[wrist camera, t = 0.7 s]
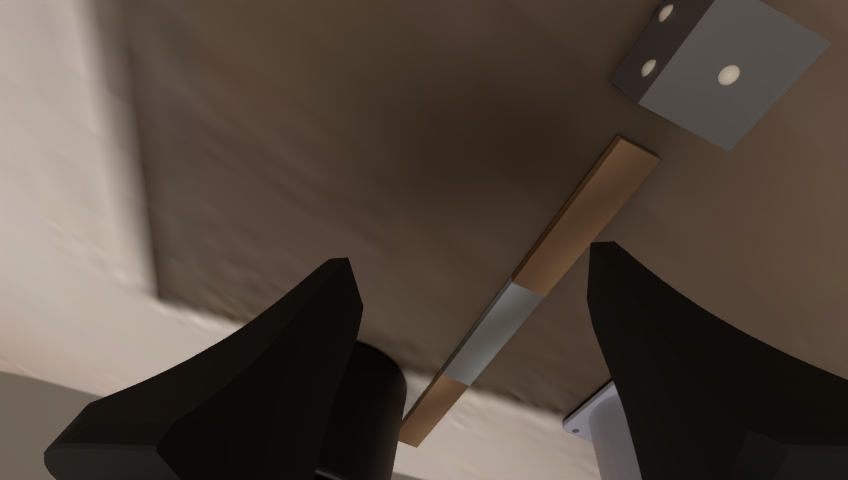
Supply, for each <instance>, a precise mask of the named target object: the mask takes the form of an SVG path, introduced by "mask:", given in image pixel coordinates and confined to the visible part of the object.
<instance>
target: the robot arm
mask: <svg viewBox="0 0 848 480" xmlns="http://www.w3.org/2000/svg"><path fill="white" fill-rule="evenodd" d="M587 302H588V307H589V311H590V316H591V320H592V324H593V328H594V331H595V334H596V337H597V340H598V342H599V345H600V348H601V350H602V353H603V356H604V358H605V361H606V364H607V366H608V369H609V371H610V374H611V377H612V379H613V381H611V382H610V383H609V384H608V385H607V386H605V387H604V388H603V389H602V390H601V391H599V392H598V393H597V394H596V395H595V396H594V397H592V398H591V399H590V400H589V401H588V402H586V403H585V404H584V405H583V406H582V407H581V408H579V409H578V410H577V411H576V412H575V413H573V414H572V415H571V416H570V417H569V418H568V419H566V420H565V421H564V422H563V423H562V426H563V429H564V430H565V431H566V432H569V433H571V434H574V435H576V436H579V437H581V438H584V439H586V440H589V441H591V442H593V445H594V450H595V454H596V458H597V462H598V467H599V471H600V475H601V479H602V480H848V380H846V379H844V378H842V377H839V376H837V375H834V374H832V373H830V372H827V371H825V370H822V369H820V368H818V367H815V366H813V365H811V364H808V363H806V362H804V361H802V360H799V359H797V358H795V357H793V356H790V355H788V354H786V353H784V352H782V351H780V350H778V349H776V348H774V347H772V346H770V345H768V344H766V343H764V342H762V341H760V340H758V339H756V338H754V337H752V336H750V335H748V334H746V333H744V332H742V331H741V330H739V329H737V328H735V327H734V326H732V325H730V324H728V323H727V322H725V321H723V320H721V319H720V318H718V317H716V316H714V315H713V314H711V313H709V312H708V311H706V310H705V309H703V308H701V307H700V306H698V305H697V304H695V303H694V302H692V301H691V300H690V299H688V298H687V297H685V296H684V295H682V294H681V293H679V292H678V291H676V290H675V289H674V288H672V287H671V286H669V285H668V284H667V283H665V282H664V281H663V280H661V279H660V278H659V277H657V276H656V275H655V274H654V273H652V272H651V271H650V270H648V269H647V268H646V267H645V266H643V265H642V264H641V263H640V262H639V261H637V260H636V259H635V258H634V257H633V256H631V255H630V254H629V253H628V252H627V251H625V250H624V249H623V248H622V247H620V246H619V245H618V244H617V243H616V242H614V241H612V242H595V243H591V247H590V261H589V275H588V289H587ZM362 312H363V304H362V301H361V297H360V294H359V291H358V288H357V284H356V281H355V278H354V275H353V271H352V268H351V265H350V262H349V259H348V258H332V259H329V260H327V261H326V262H325V263H323V264H322V265H321V266H320V267H318V268H317V269H316V270H315V271H314V272H312V273H311V274H310V275H309V276H308V277H306V278H305V279H304V280H303V281H302V282H300V283H299V284H298V285H297V286H296V287H294V288H293V289H292V290H291V291H290V292H288V293H287V294H286V295H285V296H284V297H282V298H281V299H280V300H278V301H277V302H276V303H275V304H273V305H272V306H271V307H269V308H268V309H267V310H265V311H264V312H263V313H262V314H260V315H259V316H258V317H256V318H255V319H254V320H252V321H251V322H249V323H248V324H246V325H245V326H243V327H242V328H240V329H239V330H237V331H236V332H234V333H233V334H231V335H230V336H228V337H227V338H225V339H223V340H222V341H220V342H218V343H217V344H215V345H213V346H211V347H209V348H208V349H206V350H204V351H202V352H201V353H199V354H197V355H195V356H194V357H192V358H190V359H188V360H186V361H184V362H182V363H180V364H178V365H176V366H174V367H172V368H170V369H168V370H166V371H164V372H162V373H160V374H158V375H156V376H154V377H151V378H149V379H147V380H145V381H143V382H140V383H138V384H136V385H133V386H131V387H128V388H126V389H124V390H121V391H119V392H116V393H114V394H111V395H109V396H106V397H104V398H102V399H99V400H96V401H94V402H91V403H89V404H88V405H87V406H86V407H85V408H84V409H83V410H82V411H81V412H80V414H79V415H78V416H77V417H76V418H75V419H74V420H73V421H72V422H71V423H70V424H69V425H68V427H67V428H66V429H65V430H64V431H63V432H62V433H61V434H60V435H59V436H58V437H57V438H56V439H55V440H54V442H53V443H52V444H51V445H50V446H49V447H48V448H47V450H46V451H45V452H44V463H45V466H46V467H47V469H48V471H49V472H50V474H51V475H52V476H53V477H54V478H55V479H56V480H314V478H315V473H316V469H317V464H318V460H319V456H320V451H321V447H322V442H323V438H324V434H325V430H326V426H327V423H328V419H329V415H330V411H331V408H332V405H333V402H334V398H335V396H336V393H337V390H338V387H339V385H340V382H341V379H342V377H343V374H344V371H345V369H346V366H347V363H348V360H349V358H350V355H351V352H352V349H353V347H354V344H355V341H356V338H357V335H358V331H359V327H360V322H361V317H362Z"/></svg>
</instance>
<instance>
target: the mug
mask: <svg viewBox="0 0 848 480" xmlns="http://www.w3.org/2000/svg"><path fill="white" fill-rule="evenodd" d="M406 394H407V392H406V385H405V382H404V379H403V376H402V374H401V372H400V371H399V369H398V368H397V367H396V366H395V365H394V364H393V363H392V362H391V361H390V360H389V359H388V358H387V357H385V356H384V355H383V354H381V353H380V352H378V351H376V350H374V349H372V348H370V347H368V346H365V345H363V344H360V343H356V342H355V344H354V347H353V349H352V352H351V355H350V358H349V360H348V363H347V366H346V369H345V371H344V374H343V377H342V379H341V382H340V385H339V387H338V390H337V393H336V396H335V398H334V402H333V405H332V408H331V411H330V415H329V419H328V423H327V426H326V430H325V434H324V438H323V442H322V447H321V451H320V456H319V460H318V464H317V469H316V473H315V478H314V480H391V476H392V471H393V465H394V460H395V454H396V449H397V444H398V438H399V433H400V427H401V422H402V417H403V411H404V406H405V400H406Z"/></svg>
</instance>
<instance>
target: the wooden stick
mask: <svg viewBox="0 0 848 480" xmlns="http://www.w3.org/2000/svg"><path fill="white" fill-rule="evenodd" d="M661 160H662V159H661V158H660V157H659V156H658V155H656V154H654V153H652V152H650V151H648V150H647V149H645V148H643V147H641V146H639V145H637V144H635V143H633V142H631V141H629V140H627V139H625V138H623V137H621V136H619V135H617V136H616V138H615V139H614V140H613V142H612V143H611V144H610V146H609V147H608V148H607V150H606V151H605V152H604V154H603V155H602V156H601V158H600V159H599V160H598V162H597V163H596V164H595V165H594V167H593V168H592V169H591V171H590V172H589V173H588V175H587V176H586V177H585V179H584V180H583V181H582V183H581V184H580V185H579V187H578V188H577V189H576V191H575V192H574V193H573V195H572V196H571V197H570V199H569V200H568V201H567V203H566V204H565V205H564V207H563V208H562V209H561V211H560V212H559V213H558V215H557V216H556V217H555V219H554V220H553V221H552V223H551V224H550V225H549V227H548V228H547V229H546V231H545V232H544V233H543V235H542V236H541V237H540V239H539V240H538V241H537V243H536V244H535V245H534V247H533V248H532V249H531V251H530V252H529V253H528V255H527V256H526V257H525V259H524V260H523V261H522V263H521V264H520V265H519V267H518V268H517V269H516V271H515V272H514V273H513V275H512V276H511V277H510V279H509V280H508V281H507V283H506V284H505V285H504V287H503V288H502V289H501V291H500V292H499V293H498V294H497V296H496V297H495V298H494V300H493V301H492V302H491V304H490V305H489V306H488V308H487V309H486V310H485V312H484V313H483V314H482V316H481V317H480V318H479V320H478V321H477V322H476V324H475V325H474V326H473V328H472V329H471V330H470V332H469V333H468V334H467V336H466V337H465V338H464V340H463V341H462V342H461V344H460V345H459V346H458V348H457V349H456V350H455V352H454V353H453V354H452V356H451V357H450V358H449V360H448V361H447V362H446V364H445V365H444V366H443V368H442V369H441V370H440V372H439V373H438V374H437V376H436V377H435V378H434V380H433V381H432V382H431V384H430V385H429V386H428V388H427V389H426V390H425V392H424V393H423V394H422V396H421V397H420V398H419V400H418V401H417V402H416V404H415V405H414V406H413V408H412V409H411V410H410V412H409V413H408V414H407V416H406V417H405V418H404V419H403V421H402V422H401V427H400V433H399V438H398V441H400V442H403V443H405V444H408V445H411V446H414V447H416V448H417V447H418V446H419V445H420V443H421V442H422V441H423V440H424V439H425V437H426V436H427V435H428V434H429V433H430V432H431V430H432V429H433V428H434V427H435V426H436V425H437V423H438V422H439V421H440V420H441V419H442V417H443V416H444V415H445V414H446V413H447V412H448V410H449V409H450V408H451V407H452V406H453V405H454V403H455V402H456V401H457V400H458V399H459V398H460V396H461V395H462V394H463V393H464V392H465V390H466V389H467V388H468V387H469V386H470V385H471V383H472V382H473V381H474V380H475V379H476V378H477V376H478V375H479V374H480V373H481V372H482V370H483V369H484V368H485V367H486V366H487V365H488V363H489V362H490V361H491V360H492V359H493V358H494V356H495V355H496V354H497V353H498V352H499V351H500V349H501V348H502V347H503V346H504V345H505V343H506V342H507V341H508V340H509V339H510V338H511V336H512V335H513V334H514V333H515V332H516V331H517V329H518V328H519V327H520V326H521V325H522V323H523V322H524V321H525V320H526V319H527V318H528V316H529V315H530V314H531V313H532V312H533V311H534V309H535V308H536V307H537V306H538V305H539V303H540V302H541V301H542V300H543V299H544V298H545V296H546V295H547V294H548V293H549V292H550V291H551V289H552V288H553V287H554V286H555V285H556V284H557V282H558V281H559V280H560V279H561V278H562V276H563V275H564V274H565V273H566V272H567V271H568V269H569V268H570V267H571V266H572V265H573V264H574V262H575V261H576V260H577V259H578V258H579V256H580V255H581V254H582V253H583V252H584V251H585V249H586V248H587V247H588V246H589V245H590V244H591V242H592V241H593V240H594V239H595V238H596V237H597V235H598V234H599V233H600V232H601V231H602V229H603V228H604V227H605V226H606V225H607V224H608V222H609V221H610V220H611V219H612V218H613V217H614V215H615V214H616V213H617V212H618V211H619V209H620V208H621V207H622V206H623V205H624V204H625V202H626V201H627V200H628V199H629V198H630V197H631V195H632V194H633V193H634V192H635V191H636V190H637V188H638V187H639V186H640V185H641V184H642V182H643V181H644V180H645V179H646V178H647V177H648V175H649V174H650V173H651V172H652V171H653V170H654V168H655V167H656V166H657V165H658V164H659V162H660V161H661Z"/></svg>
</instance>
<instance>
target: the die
mask: <svg viewBox="0 0 848 480" xmlns="http://www.w3.org/2000/svg"><path fill="white" fill-rule="evenodd" d="M831 44H832V43H831V42H829V41H827V40H826V39H824V38H822V37H821V36H819V35H817V34H816V33H814V32H812V31H811V30H809V29H807V28H806V27H804V26H802V25H801V24H799V23H797V22H796V21H794V20H792V19H791V18H789V17H787V16H786V15H784V14H782V13H780V12H779V11H777V10H775V9H774V8H772V7H770V6H769V5H767V4H765V3H764V2H762V1H760V0H664V1H663V3H662V4H661V6H660V7H659V9H658V10H657V12H656V13H655V15H654V16H653V17H652V19H651V20H650V22H649V23H648V25H647V26H646V28H645V29H644V31H643V32H642V34H641V35H640V37H639V38H638V39H637V41H636V42H635V44H634V45H633V47H632V48H631V50H630V51H629V53H628V54H627V56H626V57H625V58H624V60H623V61H622V63H621V64H620V66H619V67H618V69H617V70H616V72H615V73H614V75H613V76H612V78H611V79H610V80H609V81H610V82H611V83H612V84H614V85H615V86H616V87H617V88H619V89H620V90H621V91H622V92H624V93H625V94H626V95H627V96H629V97H630V98H631V99H632V100H634V101H635V102H636V103H637V104H639V105H641V106H643V107H645V108H647V109H649V110H650V111H652V112H654V113H656V114H658V115H660V116H662V117H664V118H665V119H667V120H669V121H671V122H673V123H675V124H677V125H679V126H681V127H682V128H684V129H686V130H688V131H690V132H692V133H694V134H696V135H698V136H699V137H701V138H703V139H705V140H707V141H709V142H711V143H713V144H714V145H716V146H718V147H720V148H722V149H724V150H726V151H728V152H730V151H731V150H732V149H733V148H734V146H735V145H736V144H737V143H738V142H739V141H740V140H741V139H742V138H743V137H744V136H745V135H746V134H747V133H748V132H749V131H750V130H751V128H752V127H753V126H754V125H755V124H756V123H757V122H758V121H759V120H760V119H761V118H762V117H763V116H764V115H765V114H766V113H767V112H768V110H769V109H770V108H771V107H772V106H773V105H774V104H775V103H776V102H777V101H778V100H779V99H780V98H781V97H782V96H783V95H784V94H785V92H786V91H787V90H788V89H789V88H790V87H791V86H792V85H793V84H794V83H795V82H796V81H797V80H798V79H799V78H800V77H801V75H802V74H803V73H804V72H805V71H806V70H807V69H808V68H809V67H810V66H811V65H812V64H813V63H814V62H815V61H816V60H817V59H818V57H819V56H820V55H821V54H822V53H823V52H824V51H825V50H826V49H827V48H828V47H829V46H830V45H831Z"/></svg>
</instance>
